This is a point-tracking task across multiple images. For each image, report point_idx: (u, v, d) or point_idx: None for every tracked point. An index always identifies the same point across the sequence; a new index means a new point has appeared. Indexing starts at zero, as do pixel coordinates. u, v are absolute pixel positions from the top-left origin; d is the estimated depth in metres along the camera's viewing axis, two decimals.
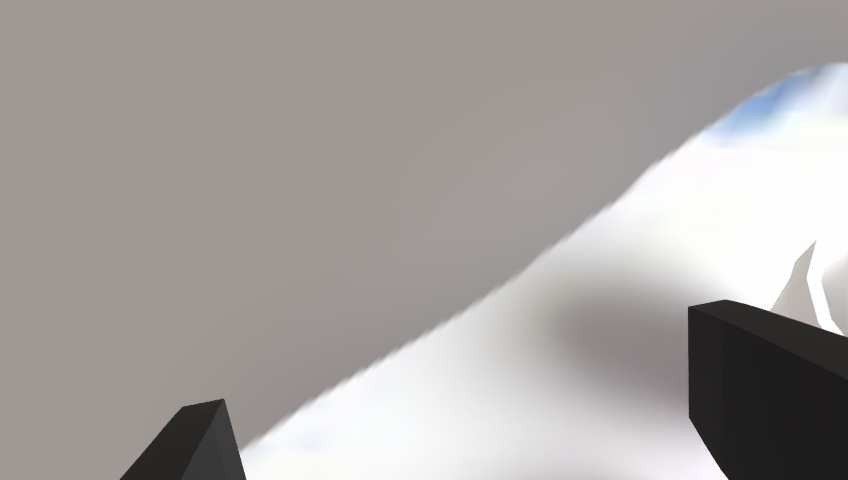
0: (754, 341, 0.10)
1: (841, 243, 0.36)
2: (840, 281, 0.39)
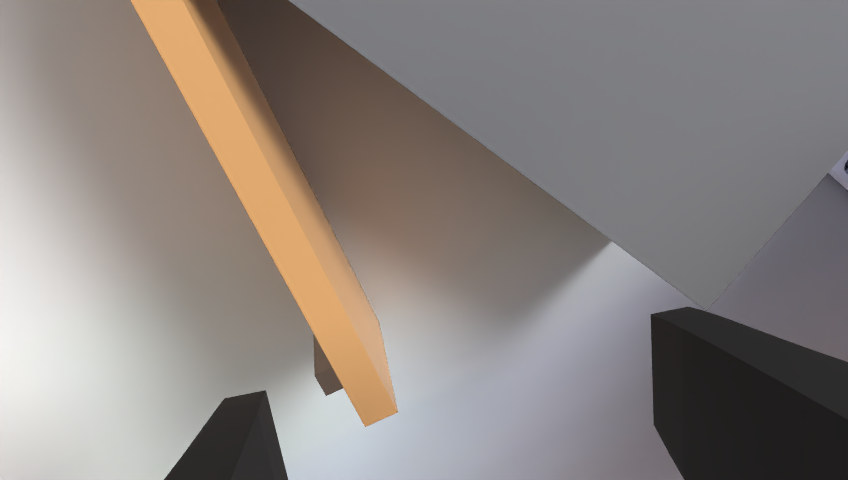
0: (711, 350, 0.10)
1: None
2: None
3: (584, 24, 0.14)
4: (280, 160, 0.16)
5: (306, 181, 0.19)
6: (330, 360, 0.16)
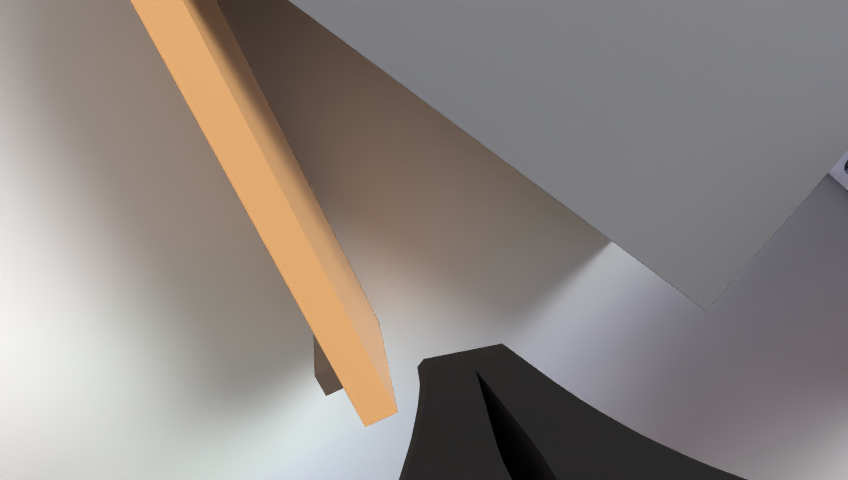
0: (491, 395, 0.09)
1: None
2: None
3: (584, 24, 0.14)
4: (280, 160, 0.16)
5: (306, 181, 0.19)
6: (330, 360, 0.16)
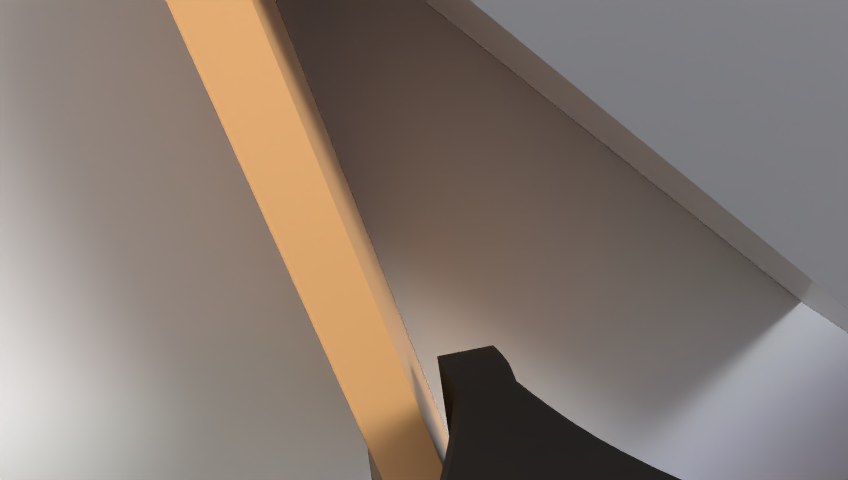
0: None
1: None
2: None
3: None
4: (357, 233, 0.11)
5: (373, 249, 0.13)
6: None
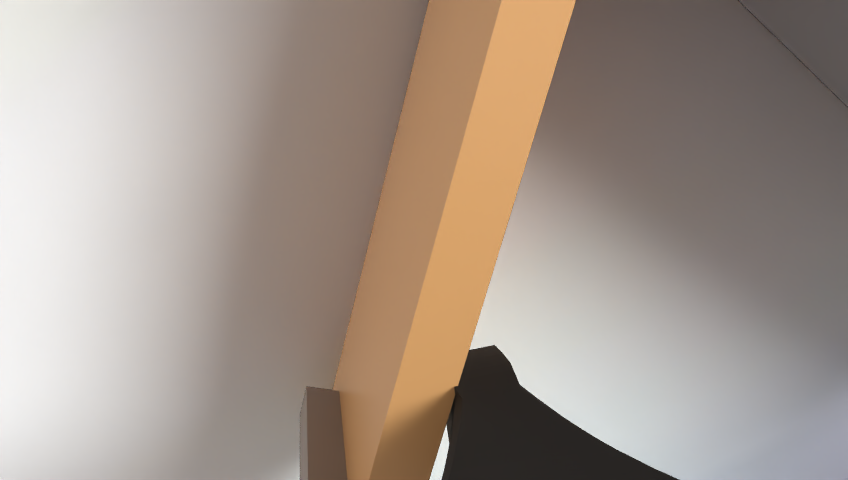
0: None
1: None
2: None
3: None
4: None
5: None
6: None
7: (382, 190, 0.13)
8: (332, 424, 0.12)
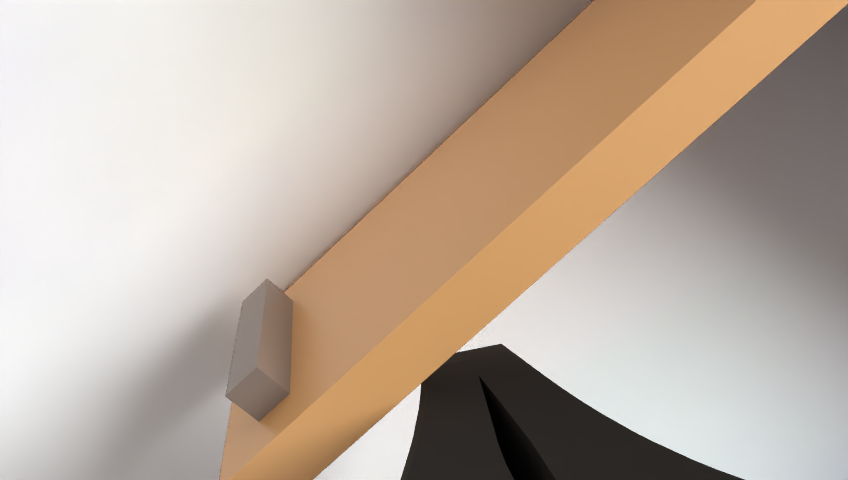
0: (490, 395, 0.09)
1: None
2: None
3: None
4: None
5: None
6: (317, 393, 0.09)
7: (442, 144, 0.13)
8: (284, 323, 0.12)
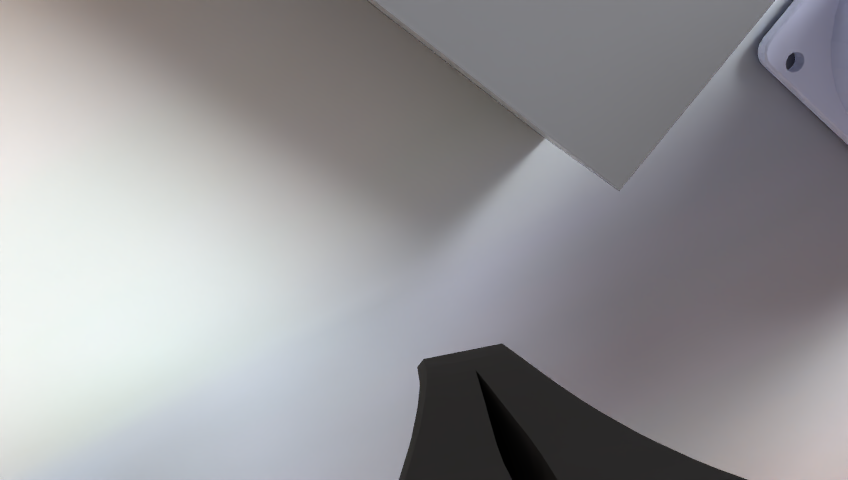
0: (492, 395, 0.09)
1: None
2: None
3: None
4: None
5: None
6: None
7: None
8: None
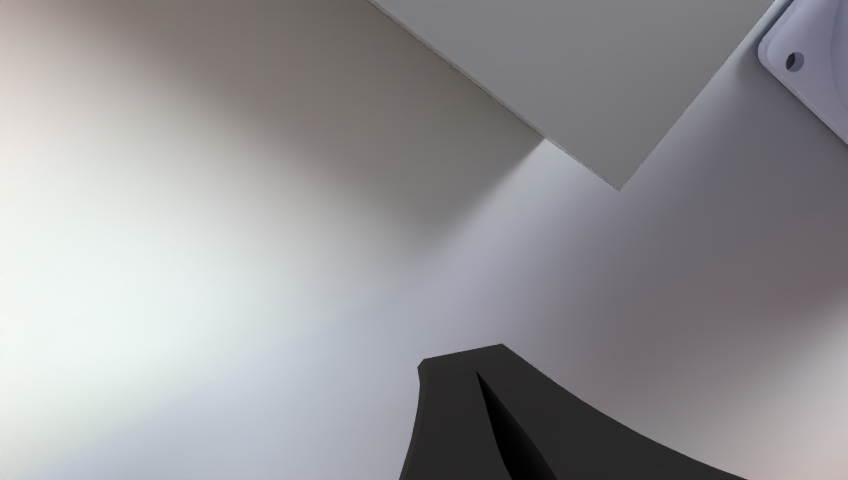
0: (492, 395, 0.09)
1: None
2: None
3: None
4: None
5: None
6: None
7: None
8: None
